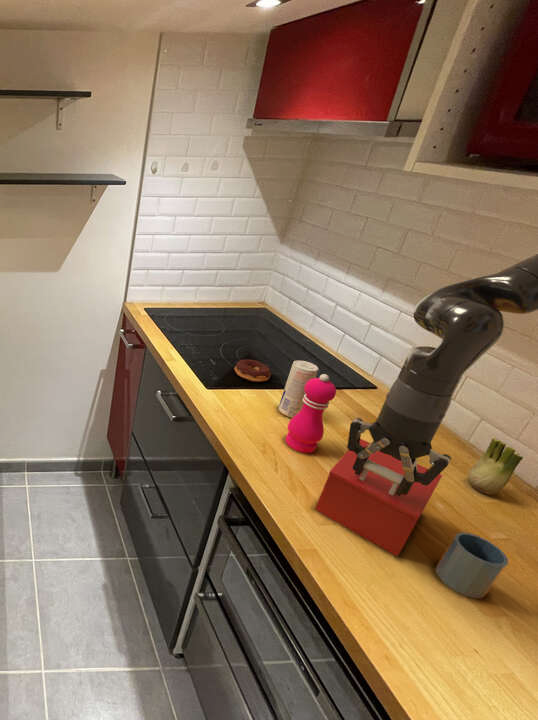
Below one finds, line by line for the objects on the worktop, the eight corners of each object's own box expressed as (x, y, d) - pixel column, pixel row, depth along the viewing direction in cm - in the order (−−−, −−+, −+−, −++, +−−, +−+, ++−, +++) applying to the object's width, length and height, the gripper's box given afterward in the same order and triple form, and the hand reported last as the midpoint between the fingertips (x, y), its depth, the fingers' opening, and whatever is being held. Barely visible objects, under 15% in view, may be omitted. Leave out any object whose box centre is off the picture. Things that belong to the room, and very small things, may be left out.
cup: (475, 573, 78) (496, 541, 75) (492, 604, 73) (516, 572, 70) (430, 558, 81) (449, 527, 78) (443, 588, 76) (464, 556, 72)
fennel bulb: (500, 501, 93) (529, 457, 88) (469, 493, 96) (496, 449, 91) (489, 483, 98) (516, 440, 93) (460, 475, 100) (485, 433, 95)
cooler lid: (417, 520, 77) (430, 497, 74) (328, 473, 86) (337, 452, 84) (440, 478, 86) (452, 457, 84) (357, 440, 96) (366, 421, 93)
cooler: (397, 556, 81) (418, 517, 77) (314, 509, 91) (330, 472, 87) (420, 515, 90) (440, 478, 86) (342, 475, 100) (357, 441, 96)
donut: (238, 364, 145) (240, 353, 143) (271, 374, 139) (275, 363, 138) (229, 376, 138) (232, 365, 136) (265, 388, 132) (268, 376, 131)
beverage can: (306, 418, 119) (324, 370, 113) (286, 419, 118) (303, 370, 112) (292, 406, 124) (308, 359, 118) (273, 407, 123) (288, 360, 117)
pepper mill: (276, 438, 111) (299, 369, 103) (298, 432, 113) (322, 364, 105) (301, 457, 105) (328, 385, 97) (324, 451, 107) (352, 380, 99)
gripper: (476, 420, 72) (433, 497, 79) (370, 381, 82) (340, 453, 89) (467, 438, 68) (422, 518, 75) (356, 395, 78) (326, 469, 85)
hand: (378, 482), depth 82 cm, fingers closed on cooler lid, 5 cm apart
